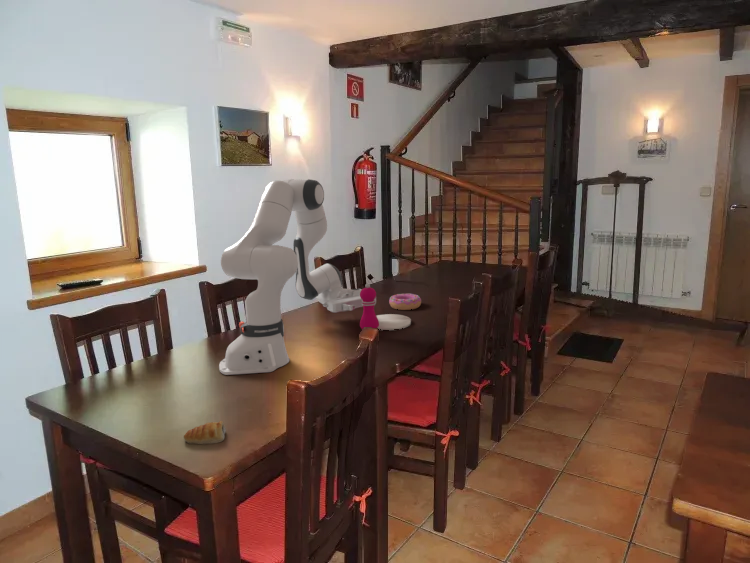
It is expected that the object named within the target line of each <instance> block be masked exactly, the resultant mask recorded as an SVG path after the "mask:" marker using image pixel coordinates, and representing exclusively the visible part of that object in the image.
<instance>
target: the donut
mask: <svg viewBox="0 0 750 563" xmlns="http://www.w3.org/2000/svg"><path fill="white" fill-rule="evenodd" d="M388 302H389V306H390V307H391V308H392V309H393V310H397V309H398V310H399V311H410V310H411V309H412V310H416V309H418V308H419V307H420V306H421V304H422V298H421V297H420V295H418V294H414V293H397V294H394V295H391V296H390V297H389V301H388Z"/></svg>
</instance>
